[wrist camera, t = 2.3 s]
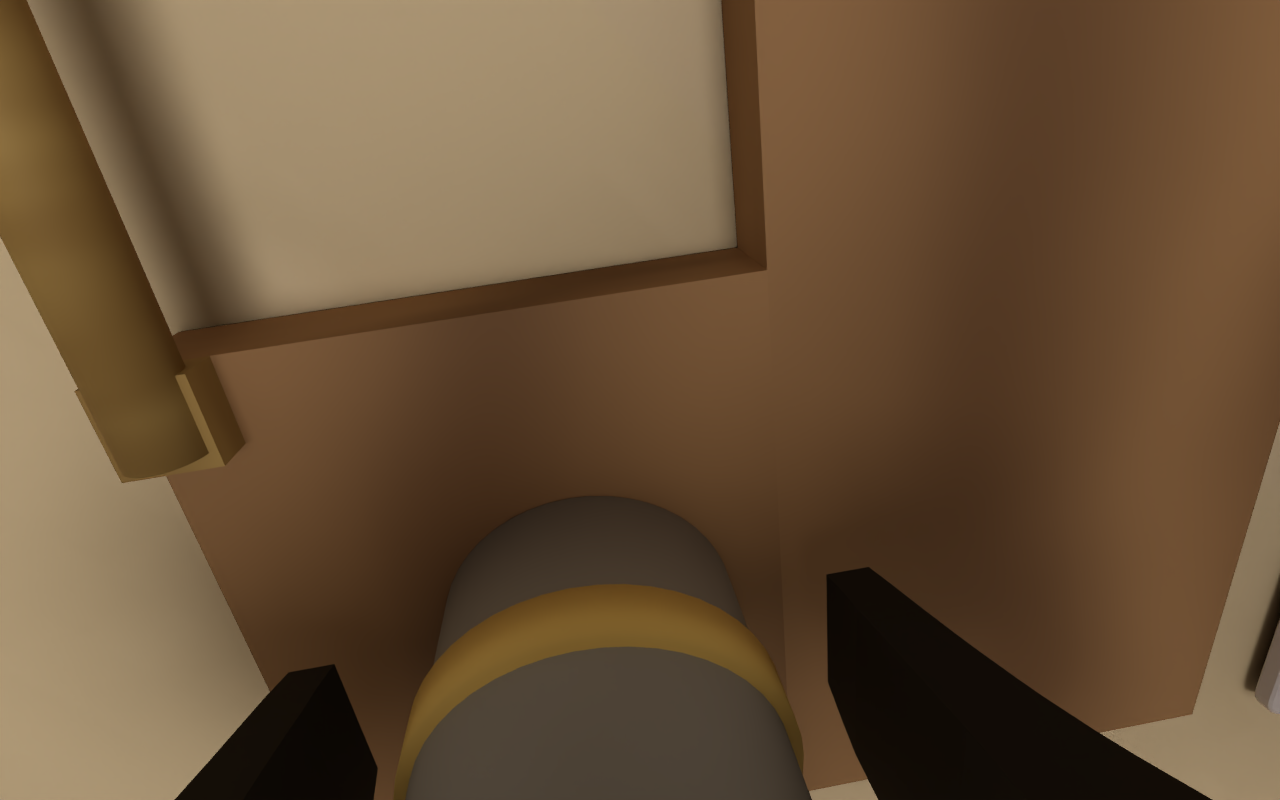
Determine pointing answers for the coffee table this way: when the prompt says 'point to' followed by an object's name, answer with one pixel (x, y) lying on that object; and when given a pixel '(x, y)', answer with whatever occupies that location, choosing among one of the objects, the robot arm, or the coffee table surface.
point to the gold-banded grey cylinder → (598, 670)
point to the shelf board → (767, 361)
